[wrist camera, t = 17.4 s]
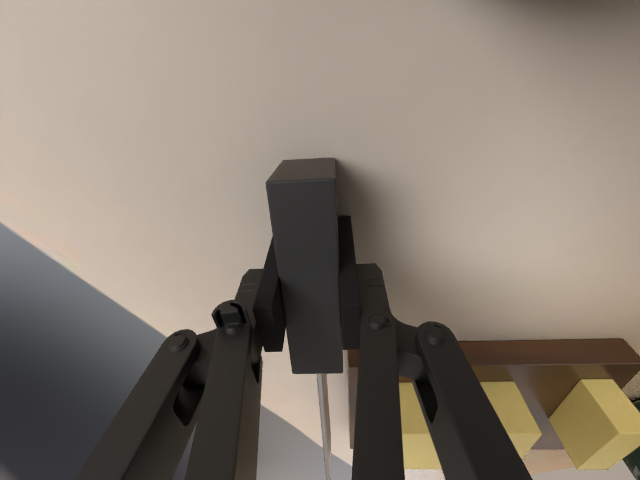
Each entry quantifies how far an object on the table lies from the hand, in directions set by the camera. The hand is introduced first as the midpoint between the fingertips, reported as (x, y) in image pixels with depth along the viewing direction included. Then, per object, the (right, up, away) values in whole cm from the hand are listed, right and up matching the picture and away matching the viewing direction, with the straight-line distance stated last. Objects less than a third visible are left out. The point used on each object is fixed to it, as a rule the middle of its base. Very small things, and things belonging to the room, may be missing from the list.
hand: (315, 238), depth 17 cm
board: (+13, -13, +9) cm, 21 cm away
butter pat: (+20, -12, +6) cm, 24 cm away
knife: (0, -6, +2) cm, 6 cm away
